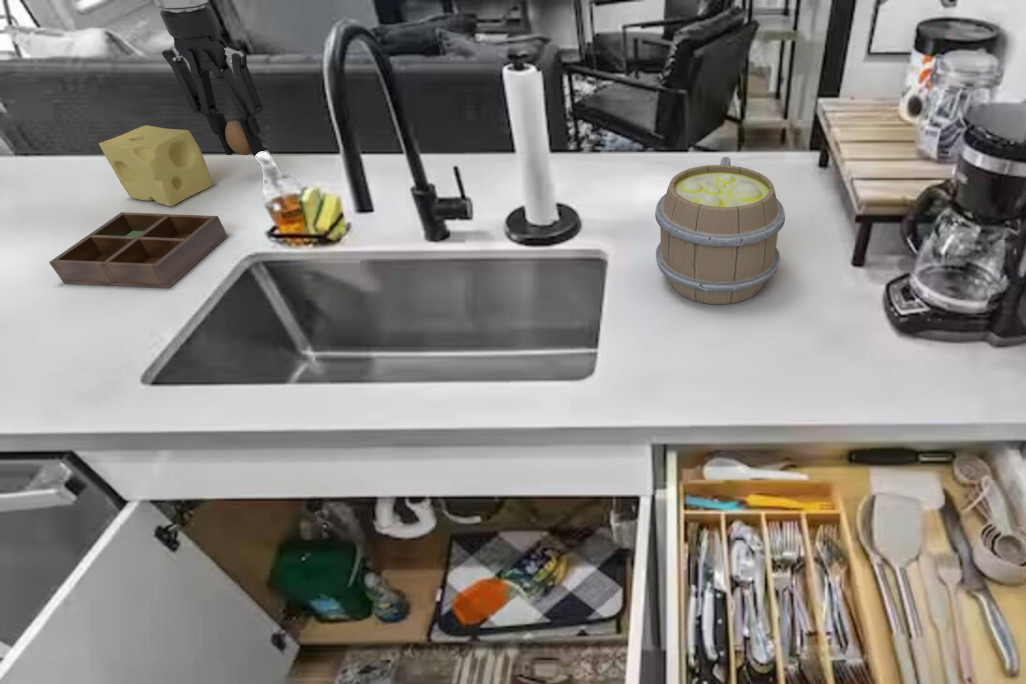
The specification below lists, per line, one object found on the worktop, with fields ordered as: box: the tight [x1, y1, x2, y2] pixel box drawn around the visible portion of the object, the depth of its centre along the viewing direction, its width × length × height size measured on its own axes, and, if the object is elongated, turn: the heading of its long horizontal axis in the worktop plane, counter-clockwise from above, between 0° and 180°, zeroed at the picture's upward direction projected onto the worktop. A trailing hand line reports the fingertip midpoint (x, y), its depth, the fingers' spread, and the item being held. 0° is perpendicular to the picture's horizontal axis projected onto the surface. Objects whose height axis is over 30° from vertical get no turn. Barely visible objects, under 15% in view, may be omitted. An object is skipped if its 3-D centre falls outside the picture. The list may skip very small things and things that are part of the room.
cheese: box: [98, 124, 214, 207], centre depth 120 cm, size 10×11×10 cm
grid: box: [49, 211, 229, 289], centre depth 105 cm, size 16×16×4 cm
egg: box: [225, 120, 253, 156], centre depth 123 cm, size 4×4×6 cm
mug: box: [654, 156, 786, 306], centre depth 100 cm, size 19×25×15 cm
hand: (245, 152), depth 125 cm, fingers closed on egg, 4 cm apart
